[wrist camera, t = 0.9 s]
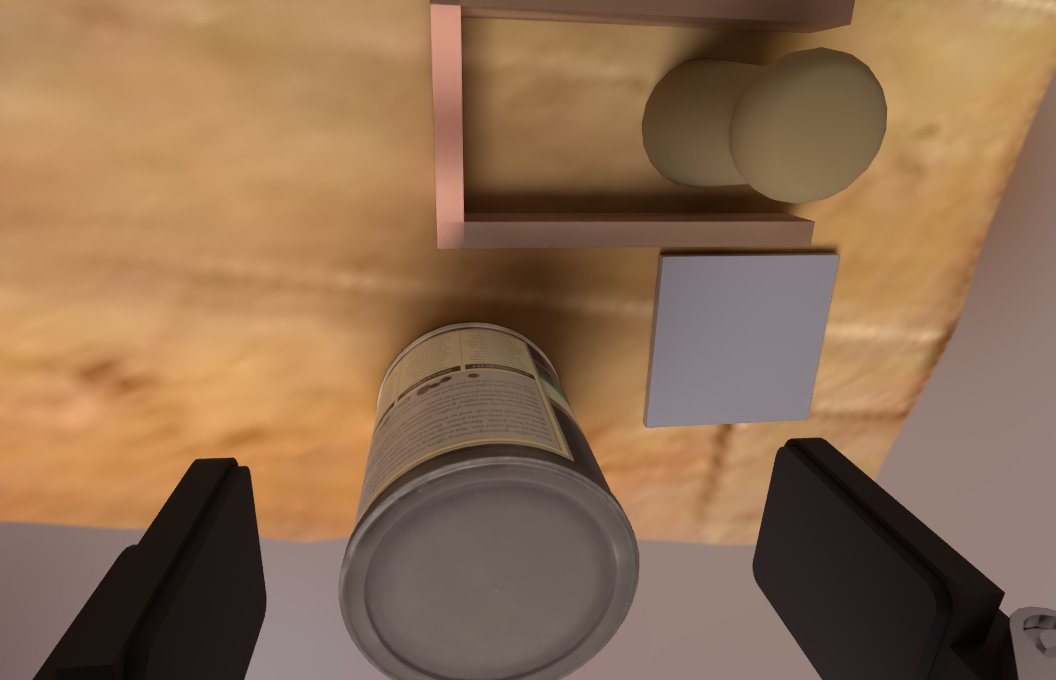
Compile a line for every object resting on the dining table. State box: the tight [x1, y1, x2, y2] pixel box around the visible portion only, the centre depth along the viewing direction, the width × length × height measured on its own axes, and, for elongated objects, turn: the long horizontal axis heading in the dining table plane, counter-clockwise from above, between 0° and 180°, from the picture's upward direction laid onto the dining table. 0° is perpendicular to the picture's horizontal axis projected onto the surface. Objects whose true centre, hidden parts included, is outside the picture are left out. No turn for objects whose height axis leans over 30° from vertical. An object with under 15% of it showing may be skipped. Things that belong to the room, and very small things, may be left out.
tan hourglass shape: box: [642, 47, 887, 204], centre depth 25 cm, size 6×6×11 cm
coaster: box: [643, 253, 840, 428], centre depth 35 cm, size 10×10×1 cm
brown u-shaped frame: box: [430, 0, 855, 249], centre depth 28 cm, size 11×18×3 cm, turn 89°
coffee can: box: [339, 322, 639, 680], centre depth 27 cm, size 10×10×14 cm
